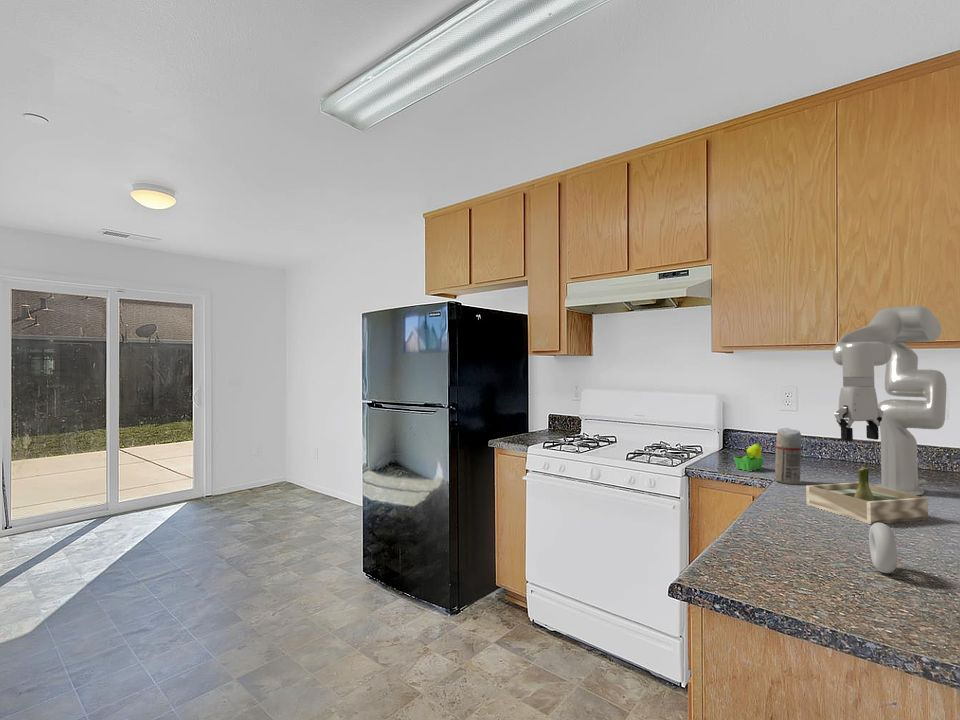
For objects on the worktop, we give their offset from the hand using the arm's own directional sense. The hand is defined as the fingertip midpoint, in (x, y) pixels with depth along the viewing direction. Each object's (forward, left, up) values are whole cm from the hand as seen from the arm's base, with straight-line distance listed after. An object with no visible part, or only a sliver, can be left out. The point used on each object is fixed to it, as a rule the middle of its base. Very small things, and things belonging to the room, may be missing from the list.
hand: (859, 439), depth 147 cm
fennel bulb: (+1, +2, -20) cm, 20 cm away
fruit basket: (-13, -58, -21) cm, 63 cm away
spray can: (-9, -35, -21) cm, 42 cm away
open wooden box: (+1, +2, -21) cm, 21 cm away
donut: (+39, +37, -21) cm, 58 cm away
